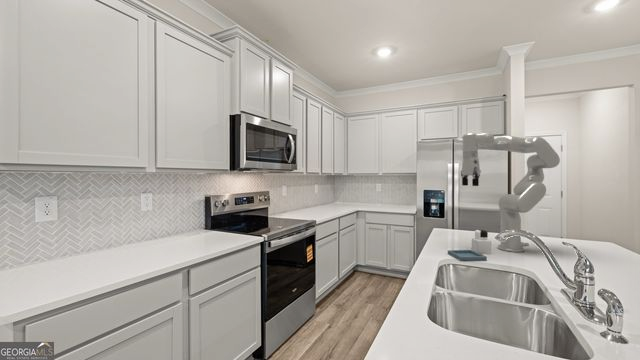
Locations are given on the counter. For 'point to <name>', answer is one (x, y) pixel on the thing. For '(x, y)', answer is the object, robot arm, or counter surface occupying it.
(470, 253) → the tray
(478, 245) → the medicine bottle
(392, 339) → the counter surface
